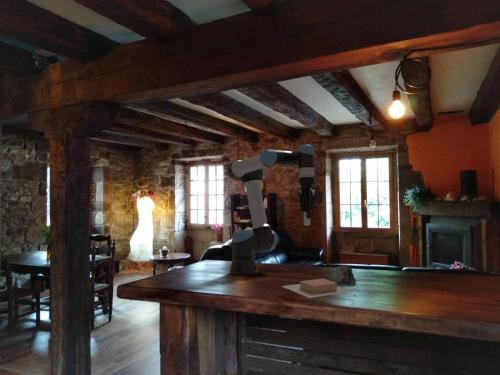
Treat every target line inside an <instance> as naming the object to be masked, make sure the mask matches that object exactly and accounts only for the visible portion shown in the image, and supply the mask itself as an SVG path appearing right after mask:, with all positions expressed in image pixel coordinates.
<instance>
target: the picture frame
mask: <svg viewBox="0 0 500 375" xmlns="http://www.w3.org/2000/svg"><path fill="white" fill-rule="evenodd" d="M337 283H338V282H335V281H332V280H329V279H326V278H315V279H310V280H309V279H308V280H307V279H306V280H301V281H299V284H300V289H303V290H306V291H308V292H311V293H313V294H314V293H321V292H328V291H335V290H337V286H338V284H337Z"/></svg>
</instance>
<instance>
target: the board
mask: <svg viewBox="0 0 500 375" xmlns="http://www.w3.org/2000/svg"><path fill="white" fill-rule="evenodd" d="M281 288H285V289H287V290H290V291H291V292H293V293H294V292H295V293H297V294H298V295H301V296H304V297H306V298H308V299H313V298H318V297H325V296H331V295H332V296H333V295H338V294H345V293H351V292H352V293H353V292H354V291H353V290H350V289H348V288H345V287H341V286H338V285H337V290H335V291H328V292H321V293H314V294H313V293H311V292H308V291H306V290H303V289H300V283H298V284H288V285H282V286H281Z"/></svg>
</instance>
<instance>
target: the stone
mask: <svg viewBox="0 0 500 375" xmlns="http://www.w3.org/2000/svg"><path fill="white" fill-rule="evenodd" d="M333 275H334V277H335V279H336V281H337V282H336V283H341V284H346V285H351V286H353V285H354V286H355V285H356V284H357V281H356V278H355V275H354V273H353V268H352V266H349V265H348V266H347V265H339V266H337V267H335V269H334V274H333Z"/></svg>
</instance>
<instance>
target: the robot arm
mask: <svg viewBox="0 0 500 375" xmlns="http://www.w3.org/2000/svg"><path fill="white" fill-rule="evenodd" d="M297 149H298V150H294V151H293V150H291V151H290V150H281V149H279V150H277V149H271V148H270V149H269V148H268V149H263V150H262V151H261V152H260V154H256V155H254V156H251V157H247V158H245V159H242V160H239V159H236V160H232V161H231V162H229V164H227V167H226V173H227V175H228V177H229V178H230V179H231V180H233V181H237V182H241V183H242V186H243V187H245V189H246V194H247V195H246V197H247V200H248V201H247V202H248V206H249V213H250V217H251V223H252V227H251V229H240V230H238V231H234V232H233V234H232V239H231V242H232V260H231V264H230V268H229V275H230V276H235V277H247V276H255V275H258V268H257V264H256V262H255V257H254V256H255V254H256V253H267V252H271V251H273V250H274V249H275V248H276V246H277V244H278V235H277V232H275V231H274V230H273V229H272V227H271V225H270V224H268V220H267V215H266V209H265V204H264V198H263V194H262V188H261V184H262V183H263V179H264V177H265V168H268V167H273V166H284V167H287V168H292V167H297V166H298V176H299V177H298V185H299V186H301V187H300V190H299V191H298V190H297V193H298V197H299V198H298V200H299V204H300V210H301V211H302V212H303V226H311V211H314V206H315V198H316V194H317V191H316V190H314V187H313V186H314V185H315V151H314V150H315V149H314V146H313V145H311V144H300V145H298V148H297Z"/></svg>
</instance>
